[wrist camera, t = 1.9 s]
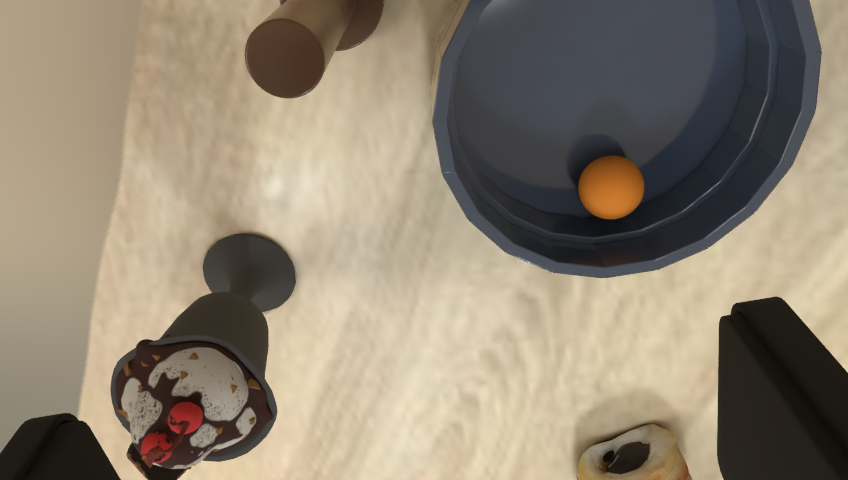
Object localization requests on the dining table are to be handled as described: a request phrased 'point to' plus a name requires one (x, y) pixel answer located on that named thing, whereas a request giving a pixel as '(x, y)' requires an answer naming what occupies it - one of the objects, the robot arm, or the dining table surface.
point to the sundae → (207, 366)
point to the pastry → (635, 457)
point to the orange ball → (611, 187)
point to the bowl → (620, 120)
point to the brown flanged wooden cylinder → (306, 41)
